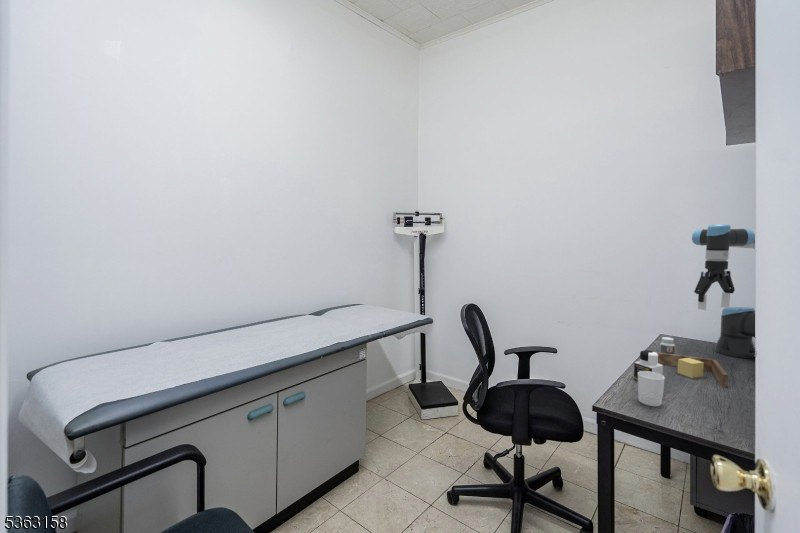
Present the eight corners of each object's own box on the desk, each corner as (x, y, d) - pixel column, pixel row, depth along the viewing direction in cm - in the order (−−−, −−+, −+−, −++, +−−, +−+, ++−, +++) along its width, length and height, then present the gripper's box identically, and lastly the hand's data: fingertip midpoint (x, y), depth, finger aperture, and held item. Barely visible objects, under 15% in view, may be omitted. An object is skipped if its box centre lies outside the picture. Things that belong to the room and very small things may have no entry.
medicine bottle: (633, 378, 151) (634, 350, 150) (644, 375, 154) (646, 348, 152) (651, 385, 144) (652, 355, 143) (662, 382, 147) (664, 353, 146)
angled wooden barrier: (714, 370, 158) (715, 359, 158) (727, 387, 141) (728, 375, 141) (653, 362, 169) (653, 351, 169) (658, 377, 152) (658, 365, 152)
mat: (703, 373, 156) (703, 372, 156) (708, 381, 147) (708, 381, 147) (673, 369, 161) (673, 368, 161) (677, 376, 152) (677, 376, 152)
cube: (688, 371, 157) (688, 357, 157) (702, 376, 152) (703, 362, 151) (677, 372, 156) (678, 359, 155) (691, 377, 150) (692, 363, 150)
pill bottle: (676, 361, 171) (678, 340, 170) (663, 360, 172) (664, 339, 171) (670, 357, 176) (671, 337, 175) (657, 356, 177) (658, 336, 176)
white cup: (654, 409, 124) (655, 381, 124) (631, 399, 132) (632, 373, 131) (668, 404, 128) (669, 377, 127) (645, 395, 135) (646, 369, 134)
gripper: (704, 261, 151) (701, 311, 153) (747, 259, 157) (744, 308, 159) (685, 260, 158) (683, 308, 160) (728, 258, 165) (725, 305, 167)
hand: (713, 308), depth 160 cm, fingers open, 13 cm apart
